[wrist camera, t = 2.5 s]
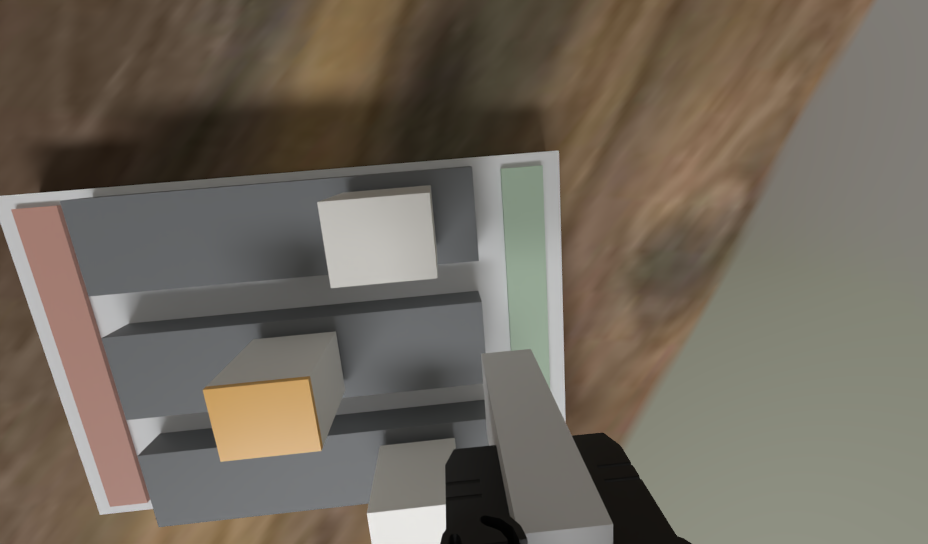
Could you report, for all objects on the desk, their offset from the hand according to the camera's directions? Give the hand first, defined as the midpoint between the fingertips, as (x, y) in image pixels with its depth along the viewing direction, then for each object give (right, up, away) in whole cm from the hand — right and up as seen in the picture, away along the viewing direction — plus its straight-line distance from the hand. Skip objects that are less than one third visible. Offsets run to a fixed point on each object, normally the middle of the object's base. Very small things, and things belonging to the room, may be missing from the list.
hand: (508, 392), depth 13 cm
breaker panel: (-8, +1, +7) cm, 10 cm away
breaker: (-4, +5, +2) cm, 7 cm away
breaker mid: (-7, 0, +3) cm, 8 cm away
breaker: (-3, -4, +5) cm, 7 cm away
